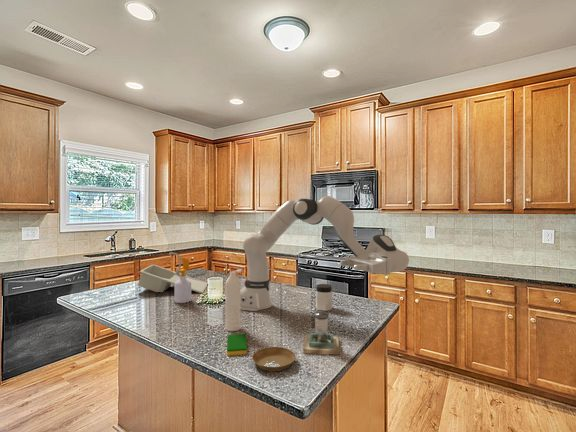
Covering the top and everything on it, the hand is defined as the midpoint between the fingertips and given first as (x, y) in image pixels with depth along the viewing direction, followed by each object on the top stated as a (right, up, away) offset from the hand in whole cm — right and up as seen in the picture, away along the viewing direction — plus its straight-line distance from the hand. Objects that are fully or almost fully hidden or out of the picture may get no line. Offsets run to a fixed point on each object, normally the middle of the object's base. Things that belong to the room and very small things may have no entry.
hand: (348, 265), depth 124 cm
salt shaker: (-11, -28, -5) cm, 31 cm away
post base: (-11, -30, -5) cm, 32 cm away
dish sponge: (-43, -30, -5) cm, 53 cm away
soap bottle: (-83, -29, +53) cm, 103 cm away
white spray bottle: (-47, -30, +13) cm, 57 cm away
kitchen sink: (-97, -28, +79) cm, 128 cm away
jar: (-5, -29, +41) cm, 51 cm away
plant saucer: (-29, -31, -18) cm, 46 cm away
